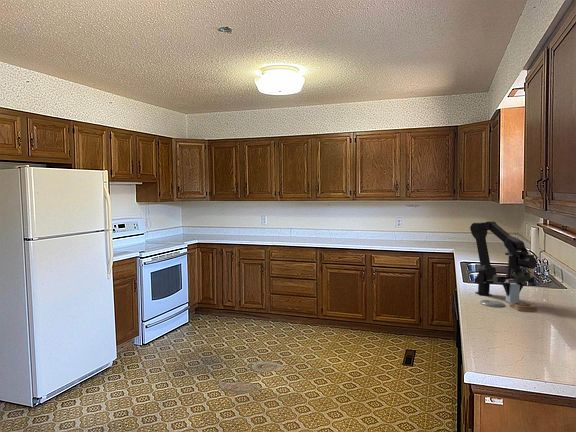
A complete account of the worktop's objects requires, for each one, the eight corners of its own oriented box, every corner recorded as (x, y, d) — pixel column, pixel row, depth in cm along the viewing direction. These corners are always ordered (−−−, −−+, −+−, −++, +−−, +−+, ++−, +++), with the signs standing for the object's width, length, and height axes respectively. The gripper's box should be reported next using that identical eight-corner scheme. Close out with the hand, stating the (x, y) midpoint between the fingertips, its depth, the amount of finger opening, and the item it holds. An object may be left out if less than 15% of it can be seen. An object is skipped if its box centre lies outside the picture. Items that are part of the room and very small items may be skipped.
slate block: (505, 300, 228) (506, 282, 228) (514, 300, 228) (515, 283, 228) (509, 302, 224) (511, 285, 223) (518, 302, 224) (520, 285, 223)
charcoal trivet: (476, 300, 228) (476, 299, 228) (497, 301, 229) (498, 300, 228) (486, 307, 218) (486, 305, 217) (508, 307, 218) (508, 306, 218)
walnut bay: (509, 306, 220) (509, 302, 220) (526, 306, 220) (527, 302, 220) (518, 310, 212) (518, 306, 212) (536, 311, 212) (536, 307, 212)
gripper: (503, 267, 216) (501, 299, 218) (542, 268, 216) (539, 300, 218) (493, 263, 228) (491, 293, 229) (529, 264, 228) (527, 294, 229)
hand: (512, 295), depth 226 cm, fingers closed on slate block, 4 cm apart
